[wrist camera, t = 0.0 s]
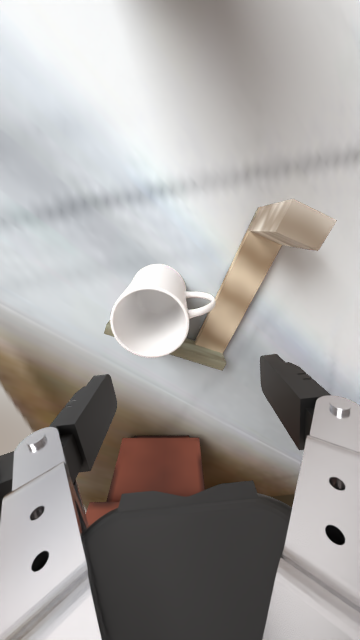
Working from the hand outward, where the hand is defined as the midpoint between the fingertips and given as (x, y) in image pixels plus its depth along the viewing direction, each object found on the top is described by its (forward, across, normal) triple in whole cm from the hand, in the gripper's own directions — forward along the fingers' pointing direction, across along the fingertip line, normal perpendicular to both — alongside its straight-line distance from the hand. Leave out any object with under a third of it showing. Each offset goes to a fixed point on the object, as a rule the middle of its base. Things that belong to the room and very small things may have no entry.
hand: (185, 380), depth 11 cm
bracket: (+22, -2, -4) cm, 22 cm away
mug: (+23, +2, -2) cm, 23 cm away
